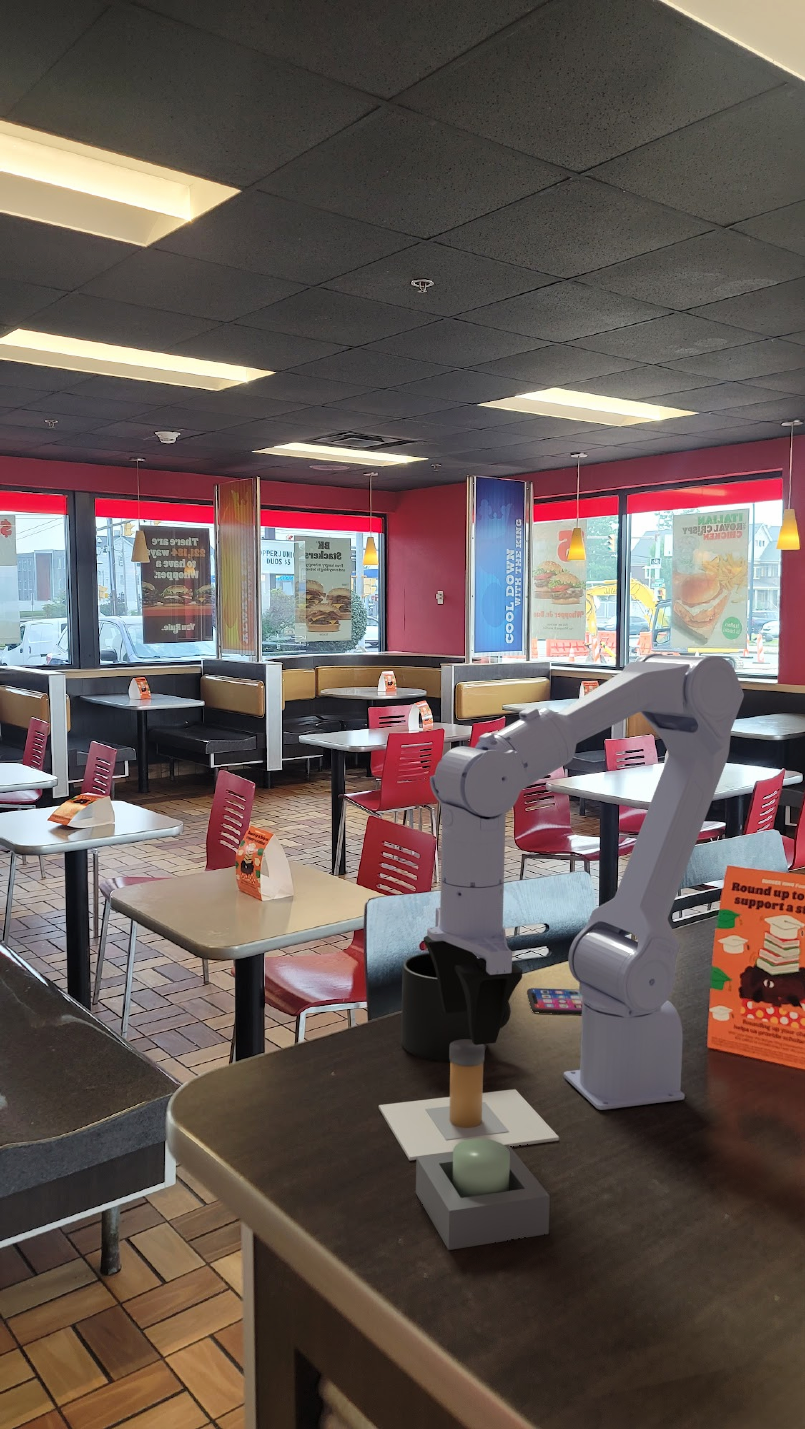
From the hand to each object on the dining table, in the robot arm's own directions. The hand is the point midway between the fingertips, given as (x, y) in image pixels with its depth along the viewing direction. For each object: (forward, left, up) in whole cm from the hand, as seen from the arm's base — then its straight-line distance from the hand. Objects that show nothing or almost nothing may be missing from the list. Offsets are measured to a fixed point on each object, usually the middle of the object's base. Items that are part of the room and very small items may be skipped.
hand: (468, 1026), depth 94 cm
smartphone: (-26, -25, -10) cm, 37 cm away
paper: (0, 0, -9) cm, 9 cm away
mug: (-5, -17, -10) cm, 20 cm away
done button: (+4, +14, -7) cm, 16 cm away
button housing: (+4, +14, -9) cm, 17 cm away
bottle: (0, 0, -9) cm, 9 cm away
